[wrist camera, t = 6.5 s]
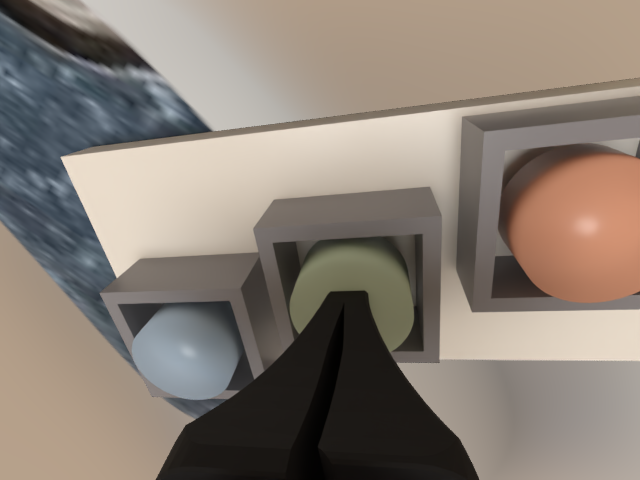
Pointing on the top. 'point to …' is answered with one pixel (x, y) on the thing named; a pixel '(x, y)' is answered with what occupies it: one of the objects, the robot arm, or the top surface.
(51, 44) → the top surface
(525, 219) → the button terracotta
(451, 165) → the panel
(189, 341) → the button blue
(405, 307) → the button green
